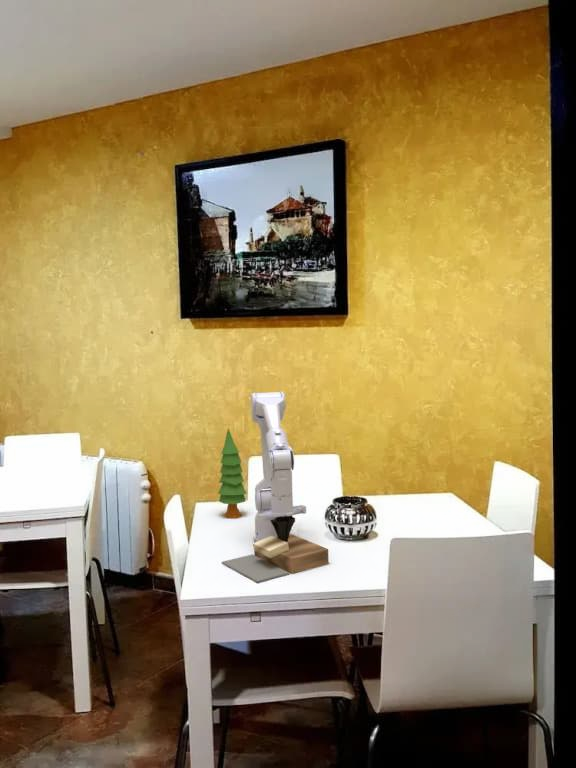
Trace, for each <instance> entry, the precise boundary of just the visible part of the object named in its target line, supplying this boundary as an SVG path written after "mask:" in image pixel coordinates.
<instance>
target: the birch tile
mask: <svg viewBox="0 0 576 768" xmlns="http://www.w3.org/2000/svg"><path fill="white" fill-rule="evenodd" d="M252 547H253V551H256V552H259V553H261V554H263V555H265V556H267V557H269V558H272V557H274V556H276V555H279V554H281V553H283V552H285V551H288V550H289V546H288V543H287V542H285V541H283V540H280V539H278V538H276V537H273V536H269V537H267V538H264V539H262V540H260V541H257V542H255V543H254V542H253V543H252Z"/></svg>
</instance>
